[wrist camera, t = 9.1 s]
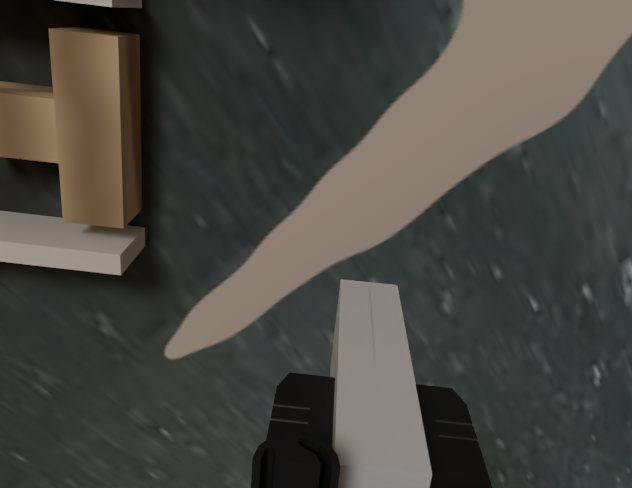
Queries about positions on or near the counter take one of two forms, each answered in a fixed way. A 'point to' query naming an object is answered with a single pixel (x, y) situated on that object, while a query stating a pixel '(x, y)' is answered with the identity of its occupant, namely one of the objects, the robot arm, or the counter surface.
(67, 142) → the tee
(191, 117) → the counter surface
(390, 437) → the robot arm
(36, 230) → the bay
